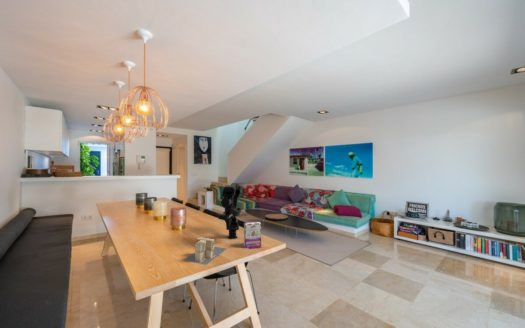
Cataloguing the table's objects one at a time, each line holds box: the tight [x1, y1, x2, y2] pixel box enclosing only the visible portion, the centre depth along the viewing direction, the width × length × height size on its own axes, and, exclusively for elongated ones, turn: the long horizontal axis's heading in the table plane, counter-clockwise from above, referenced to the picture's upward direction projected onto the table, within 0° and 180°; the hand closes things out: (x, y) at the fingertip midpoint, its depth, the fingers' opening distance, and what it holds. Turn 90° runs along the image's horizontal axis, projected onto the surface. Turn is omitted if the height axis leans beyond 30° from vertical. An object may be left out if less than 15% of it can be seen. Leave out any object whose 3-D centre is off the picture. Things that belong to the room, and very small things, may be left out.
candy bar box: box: [243, 221, 262, 249], centre depth 144 cm, size 11×5×16 cm, turn 105°
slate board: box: [182, 246, 227, 266], centre depth 130 cm, size 24×16×1 cm, turn 162°
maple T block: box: [194, 237, 215, 262], centre depth 124 cm, size 9×10×10 cm
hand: (228, 226), depth 149 cm, fingers closed
